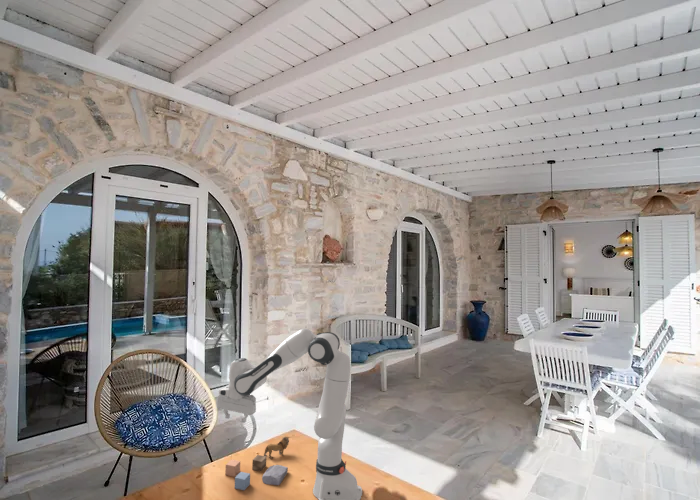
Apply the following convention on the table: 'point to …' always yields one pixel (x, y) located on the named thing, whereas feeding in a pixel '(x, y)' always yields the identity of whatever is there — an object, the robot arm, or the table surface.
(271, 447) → the lion figurine
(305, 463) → the table surface
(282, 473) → the stone block
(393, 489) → the table surface
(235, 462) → the terracotta cube
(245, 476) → the slate-blue cube
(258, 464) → the walnut cube
